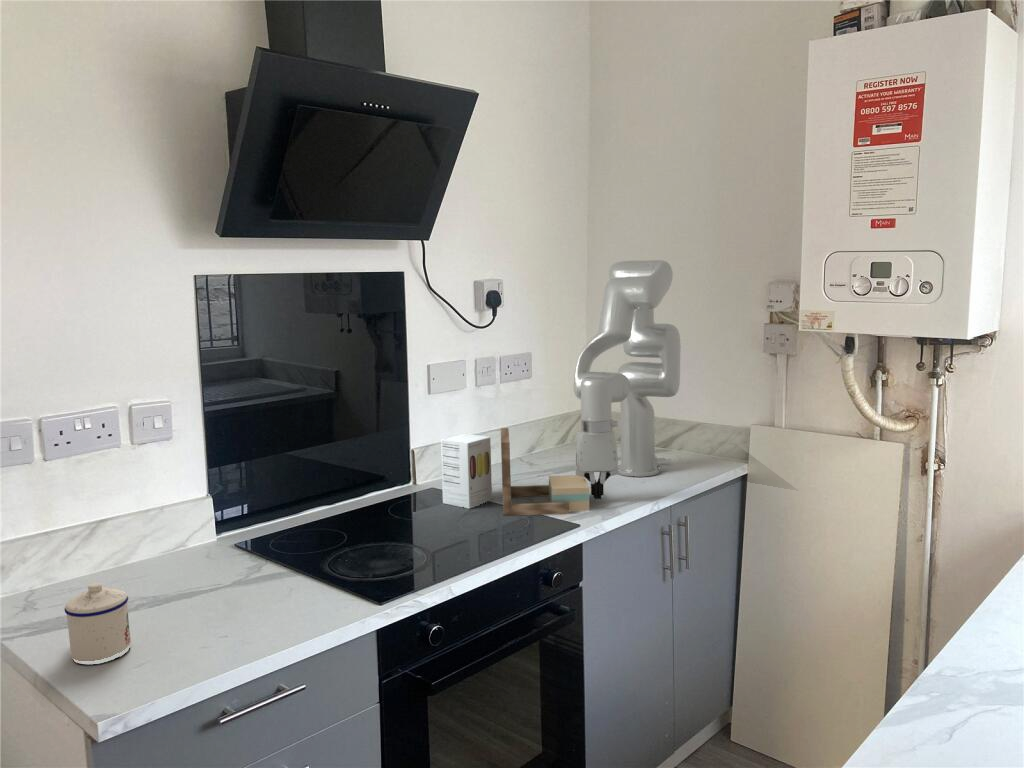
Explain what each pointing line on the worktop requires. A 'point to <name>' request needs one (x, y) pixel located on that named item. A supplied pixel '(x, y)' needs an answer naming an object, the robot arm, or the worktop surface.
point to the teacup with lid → (98, 623)
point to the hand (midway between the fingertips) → (597, 497)
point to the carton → (569, 491)
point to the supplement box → (466, 470)
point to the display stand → (524, 489)
